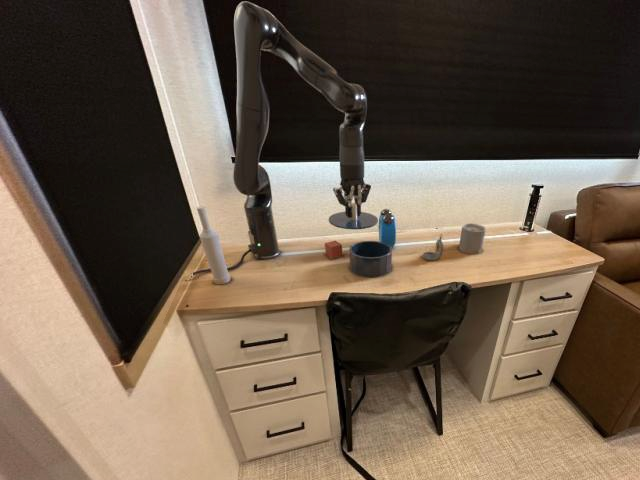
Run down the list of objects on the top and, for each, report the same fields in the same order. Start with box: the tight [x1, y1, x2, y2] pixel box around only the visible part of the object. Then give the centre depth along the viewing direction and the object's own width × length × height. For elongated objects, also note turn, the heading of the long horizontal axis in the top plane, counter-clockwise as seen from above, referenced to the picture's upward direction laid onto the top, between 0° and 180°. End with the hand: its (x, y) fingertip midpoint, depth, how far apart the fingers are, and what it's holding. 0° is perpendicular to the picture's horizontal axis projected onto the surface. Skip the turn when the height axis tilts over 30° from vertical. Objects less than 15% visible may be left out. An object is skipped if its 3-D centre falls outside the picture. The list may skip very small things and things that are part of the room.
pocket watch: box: [422, 233, 444, 261], centre depth 127 cm, size 8×8×10 cm
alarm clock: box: [378, 208, 397, 249], centre depth 134 cm, size 13×6×15 cm, turn 9°
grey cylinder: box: [458, 223, 487, 255], centre depth 138 cm, size 13×10×10 cm
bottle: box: [196, 206, 231, 285], centre depth 100 cm, size 5×5×25 cm
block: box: [324, 240, 343, 260], centre depth 126 cm, size 5×5×5 cm
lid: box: [328, 202, 379, 230], centre depth 106 cm, size 17×17×6 cm
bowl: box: [348, 240, 393, 278], centre depth 118 cm, size 16×16×8 cm
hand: (353, 216), depth 106 cm, fingers closed on lid, 2 cm apart
